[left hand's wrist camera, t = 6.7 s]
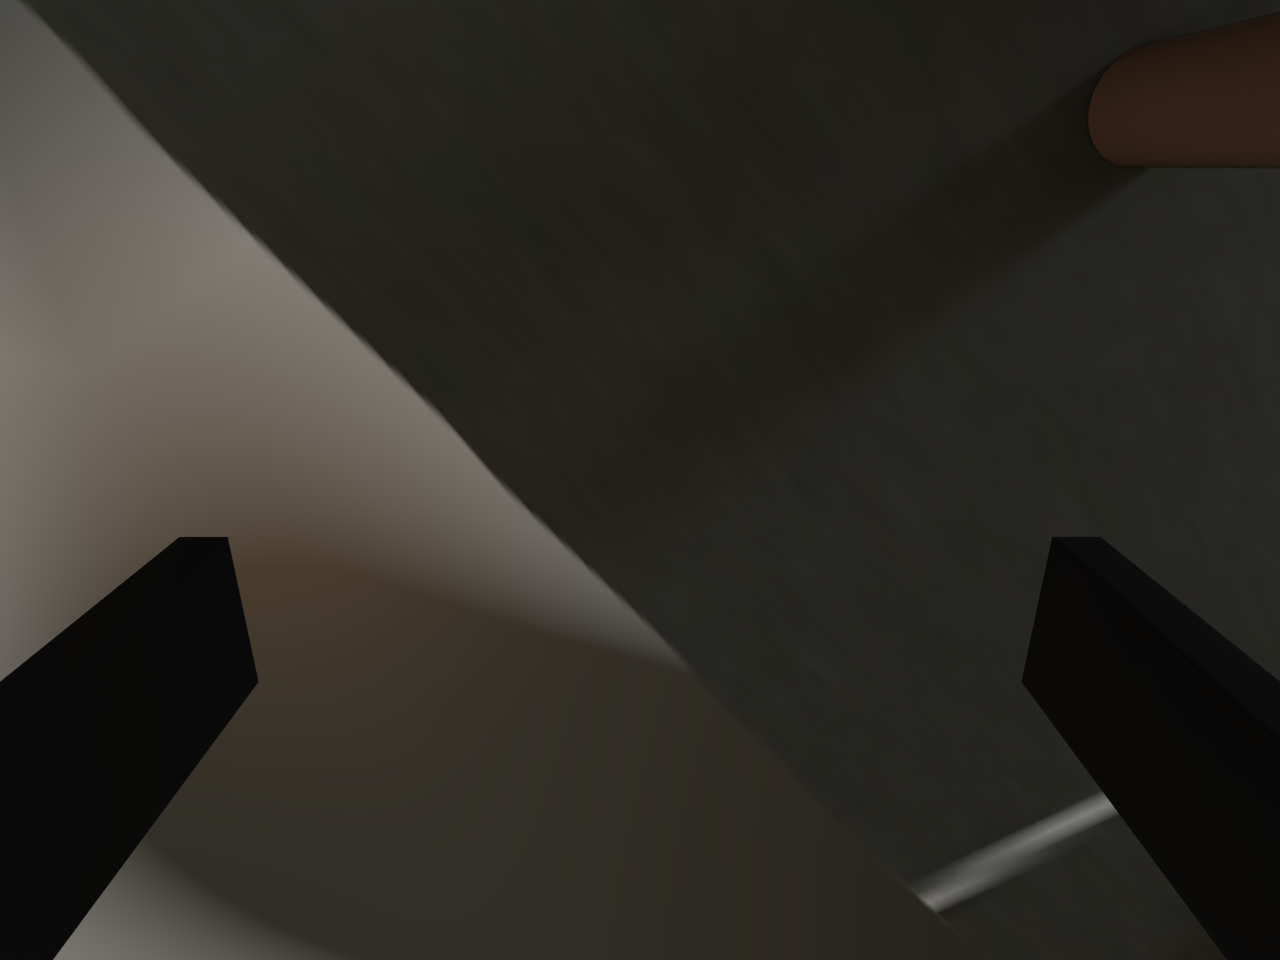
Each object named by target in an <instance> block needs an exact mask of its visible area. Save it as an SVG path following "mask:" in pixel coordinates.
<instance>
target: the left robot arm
mask: <svg viewBox="0 0 1280 960" xmlns="http://www.w3.org/2000/svg"><path fill="white" fill-rule="evenodd" d="M257 683H258V678H257V673H256V668H255V663H254V659H253V654H252V649H251V645H250V640H249V635H248V630H247V626H246V621H245V616H244V612H243V607H242V602H241V597H240V593H239V588H238V583H237V579H236V574H235V569H234V565H233V560H232V555H231V550H230V546H229V541H228V537H179V538H178V539H177V540H175V541H174V542H173V543H172V544H170V545H169V546H168V547H167V548H165V549H164V550H163V551H162V552H160V553H159V554H158V555H157V556H155V557H154V558H153V559H152V560H150V561H149V562H148V563H147V564H146V565H144V566H143V567H142V568H141V569H139V570H138V571H137V572H136V573H134V574H133V575H132V576H131V577H129V578H128V579H127V580H126V581H124V582H123V583H122V584H121V585H120V586H118V587H117V588H116V589H115V590H113V591H112V592H111V593H110V594H108V595H107V596H106V597H105V598H103V599H102V600H101V601H100V602H98V603H97V604H96V605H95V606H93V607H92V608H91V609H90V610H88V611H87V612H86V613H85V614H84V615H82V616H81V617H80V618H79V619H77V620H76V621H75V622H74V623H72V624H71V625H70V626H69V627H67V628H66V629H65V630H64V631H62V632H61V633H60V634H59V635H58V636H56V637H55V638H54V639H53V640H51V641H50V642H49V643H48V644H46V645H45V646H44V647H43V648H41V649H40V650H39V651H38V652H36V653H35V654H34V655H33V656H31V657H30V658H29V659H28V660H27V661H25V662H24V663H23V664H22V665H20V666H19V667H18V668H17V669H15V670H14V671H13V672H12V673H10V674H9V675H8V676H7V677H5V678H4V679H3V680H2V681H1V682H0V960H53V959H54V958H55V956H56V955H57V954H58V952H59V951H60V950H61V948H62V947H63V945H64V944H65V943H66V941H67V940H68V939H69V937H70V936H71V935H72V933H73V932H74V931H75V929H76V928H77V927H78V925H79V924H80V922H81V921H82V920H83V918H84V917H85V916H86V914H87V913H88V912H89V910H90V909H91V908H92V906H93V905H94V904H95V902H96V901H97V899H98V898H99V897H100V895H101V894H102V893H103V891H104V890H105V889H106V887H107V886H108V885H109V883H110V882H111V881H112V879H113V878H114V876H115V875H116V874H117V872H118V871H119V870H120V868H121V867H122V866H123V864H124V863H125V862H126V860H127V859H128V857H129V856H130V855H131V854H132V852H133V851H134V849H135V848H136V847H137V845H138V844H139V843H140V841H141V840H142V839H143V837H144V836H145V835H146V833H147V832H148V830H149V829H150V828H151V826H152V825H153V824H154V822H155V821H156V820H157V818H158V817H159V816H160V814H161V813H162V812H163V810H164V809H165V808H166V806H167V805H168V803H169V802H170V801H171V799H172V798H173V797H174V795H175V794H176V793H177V791H178V790H179V789H180V787H181V786H182V785H183V783H184V782H185V780H186V779H187V778H188V776H189V775H190V774H191V772H192V771H193V770H194V768H195V767H196V766H197V764H198V763H199V761H200V760H201V759H202V757H203V756H204V755H205V753H206V752H207V751H208V749H209V748H210V747H211V745H212V744H213V743H214V741H215V740H216V739H217V737H218V736H219V734H220V733H221V732H222V730H223V729H224V728H225V726H226V725H227V724H228V722H229V721H230V720H231V718H232V717H233V716H234V714H235V713H236V711H237V710H238V709H239V707H240V706H241V705H242V703H243V702H244V701H245V699H246V698H247V697H248V695H249V694H250V693H251V691H252V690H253V688H254V687H255V686H256V684H257ZM1022 683H1023V684H1024V686H1025V687H1026V688H1027V690H1028V691H1029V693H1030V694H1031V695H1032V697H1033V698H1034V699H1035V701H1036V702H1037V703H1038V705H1039V706H1040V707H1041V709H1042V710H1043V711H1044V713H1045V714H1046V716H1047V717H1048V718H1049V720H1050V721H1051V722H1052V724H1053V725H1054V726H1055V728H1056V729H1057V730H1058V732H1059V733H1060V734H1061V736H1062V737H1063V739H1064V740H1065V741H1066V743H1067V744H1068V745H1069V747H1070V748H1071V749H1072V751H1073V752H1074V753H1075V755H1076V756H1077V757H1078V759H1079V760H1080V762H1081V763H1082V764H1083V766H1084V767H1085V768H1086V770H1087V771H1088V772H1089V774H1090V775H1091V776H1092V778H1093V779H1094V780H1095V782H1096V783H1097V785H1098V786H1099V787H1100V789H1101V790H1102V791H1103V793H1104V794H1105V795H1106V797H1107V798H1108V799H1109V801H1110V802H1111V803H1112V805H1113V806H1114V808H1115V809H1116V810H1117V812H1118V813H1119V814H1120V816H1121V817H1122V818H1123V820H1124V821H1125V822H1126V824H1127V825H1128V826H1129V828H1130V829H1131V831H1132V832H1133V833H1134V835H1135V836H1136V837H1137V839H1138V840H1139V841H1140V843H1141V844H1142V845H1143V847H1144V848H1145V849H1146V851H1147V852H1148V854H1149V855H1150V856H1151V858H1152V859H1153V860H1154V862H1155V863H1156V864H1157V866H1158V867H1159V868H1160V870H1161V871H1162V872H1163V874H1164V875H1165V877H1166V878H1167V879H1168V881H1169V882H1170V883H1171V885H1172V886H1173V887H1174V889H1175V890H1176V891H1177V893H1178V894H1179V895H1180V897H1181V898H1182V900H1183V901H1184V902H1185V904H1186V905H1187V906H1188V908H1189V909H1190V910H1191V912H1192V913H1193V914H1194V916H1195V917H1196V918H1197V920H1198V921H1199V923H1200V924H1201V925H1202V927H1203V928H1204V929H1205V931H1206V932H1207V933H1208V935H1209V936H1210V937H1211V939H1212V940H1213V941H1214V943H1215V944H1216V945H1217V947H1218V948H1219V950H1220V951H1221V952H1222V954H1223V955H1224V956H1225V958H1226V959H1227V960H1280V681H1278V680H1277V679H1276V678H1275V677H1273V676H1272V675H1271V674H1270V673H1268V672H1267V671H1266V670H1265V669H1263V668H1262V667H1261V666H1260V665H1258V664H1257V663H1256V662H1255V661H1253V660H1252V659H1251V658H1250V657H1249V656H1247V655H1246V654H1245V653H1244V652H1242V651H1241V650H1240V649H1239V648H1237V647H1236V646H1235V645H1234V644H1232V643H1231V642H1230V641H1229V640H1227V639H1226V638H1225V637H1224V636H1222V635H1221V634H1220V633H1219V632H1218V631H1216V630H1215V629H1214V628H1213V627H1211V626H1210V625H1209V624H1208V623H1206V622H1205V621H1204V620H1203V619H1201V618H1200V617H1199V616H1198V615H1196V614H1195V613H1194V612H1193V611H1191V610H1190V609H1189V608H1188V607H1187V606H1185V605H1184V604H1183V603H1182V602H1180V601H1179V600H1178V599H1177V598H1175V597H1174V596H1173V595H1172V594H1170V593H1169V592H1168V591H1167V590H1165V589H1164V588H1163V587H1162V586H1161V585H1159V584H1158V583H1157V582H1156V581H1154V580H1153V579H1152V578H1151V577H1149V576H1148V575H1147V574H1146V573H1144V572H1143V571H1142V570H1141V569H1139V568H1138V567H1137V566H1136V565H1134V564H1133V563H1132V562H1131V561H1130V560H1128V559H1127V558H1126V557H1125V556H1123V555H1122V554H1121V553H1120V552H1118V551H1117V550H1116V549H1115V548H1113V547H1112V546H1111V545H1110V544H1108V543H1107V542H1106V541H1105V540H1103V539H1102V538H1101V537H1052V541H1051V546H1050V550H1049V555H1048V560H1047V564H1046V569H1045V574H1044V579H1043V583H1042V588H1041V593H1040V597H1039V602H1038V607H1037V612H1036V616H1035V621H1034V626H1033V630H1032V635H1031V640H1030V644H1029V649H1028V654H1027V659H1026V663H1025V668H1024V673H1023V677H1022Z"/></svg>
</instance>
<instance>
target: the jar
mask: <svg viewBox="0 0 1280 960" xmlns="http://www.w3.org/2000/svg"><path fill="white" fill-rule="evenodd" d="M1088 126H1089V132H1090V136H1091V139H1092V141H1093V144H1094V145H1095V147H1096V149H1097V150H1098V151H1099V153H1100V154H1101V155H1102V156H1103V157H1104V158H1106V159H1107V160H1108V161H1110V162H1112V163H1114V164H1116V165H1118V166H1123V167H1129V168H1280V12H1276V13H1272V14H1268V15H1264V16H1260V17H1256V18H1252V19H1247V20H1243V21H1239V22H1235V23H1231V24H1227V25H1222V26H1218V27H1214V28H1210V29H1206V30H1202V31H1198V32H1193V33H1189V34H1185V35H1181V36H1177V37H1173V38H1168V39H1164V40H1160V41H1156V42H1152V43H1148V44H1144V45H1141V46H1138V47H1136V48H1134V49H1132V50H1130V51H1128V52H1127V53H1125V54H1124V55H1122V56H1121V57H1120V58H1118V59H1117V60H1116V61H1115V62H1114V63H1113V64H1112V65H1111V66H1110V67H1109V68H1108V69H1107V71H1106V72H1105V73H1104V74H1103V76H1102V77H1101V79H1100V80H1099V82H1098V84H1097V86H1096V88H1095V90H1094V93H1093V95H1092V98H1091V102H1090V106H1089V112H1088Z"/></svg>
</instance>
